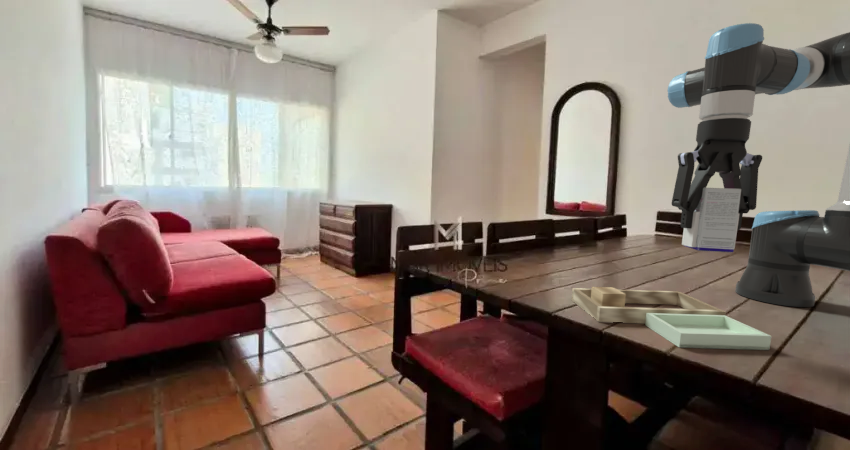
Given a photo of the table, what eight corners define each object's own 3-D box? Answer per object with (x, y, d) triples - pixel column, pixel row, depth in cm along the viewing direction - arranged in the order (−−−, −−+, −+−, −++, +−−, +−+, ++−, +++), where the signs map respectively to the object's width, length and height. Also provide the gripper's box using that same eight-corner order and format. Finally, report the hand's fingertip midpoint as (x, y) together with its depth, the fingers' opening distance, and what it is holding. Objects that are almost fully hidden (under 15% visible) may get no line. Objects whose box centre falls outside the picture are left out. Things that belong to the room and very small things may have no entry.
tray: (723, 327, 75) (725, 315, 75) (769, 350, 65) (771, 335, 65) (645, 325, 75) (646, 312, 74) (679, 347, 65) (680, 333, 65)
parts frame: (677, 303, 90) (679, 291, 90) (724, 325, 76) (726, 311, 76) (571, 300, 90) (572, 288, 89) (598, 322, 76) (599, 307, 75)
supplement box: (735, 252, 66) (742, 188, 64) (697, 251, 67) (704, 187, 65) (717, 247, 71) (723, 187, 70) (682, 245, 72) (688, 187, 71)
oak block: (611, 308, 85) (613, 287, 84) (623, 316, 80) (625, 294, 79) (589, 308, 85) (591, 286, 84) (600, 316, 80) (603, 293, 79)
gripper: (759, 125, 70) (742, 245, 73) (657, 121, 70) (644, 241, 73) (799, 118, 62) (778, 252, 65) (684, 114, 63) (668, 248, 65)
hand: (707, 246), depth 69 cm, fingers closed on supplement box, 6 cm apart
